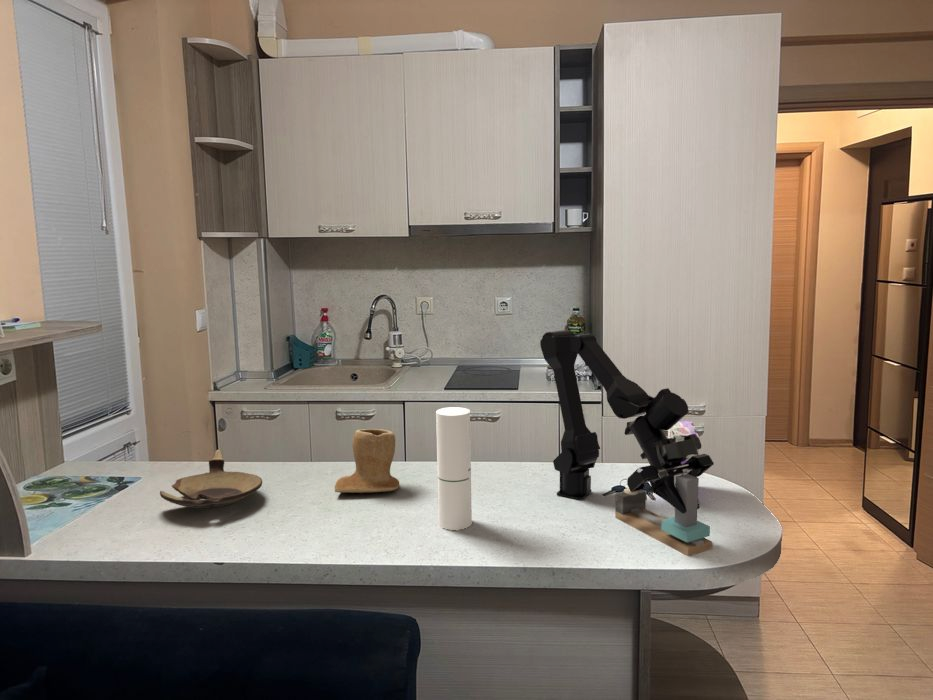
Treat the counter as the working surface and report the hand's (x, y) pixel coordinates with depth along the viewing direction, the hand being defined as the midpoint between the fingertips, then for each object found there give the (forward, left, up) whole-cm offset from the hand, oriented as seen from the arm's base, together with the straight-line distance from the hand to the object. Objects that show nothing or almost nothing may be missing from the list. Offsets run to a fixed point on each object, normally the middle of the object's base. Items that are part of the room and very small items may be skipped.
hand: (691, 510), depth 139 cm
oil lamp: (-103, -30, -8) cm, 108 cm away
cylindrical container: (-46, -14, -8) cm, 49 cm away
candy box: (-9, +27, -8) cm, 30 cm away
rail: (-7, +4, -8) cm, 11 cm away
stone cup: (-76, -7, -8) cm, 77 cm away
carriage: (-1, +1, -5) cm, 5 cm away
